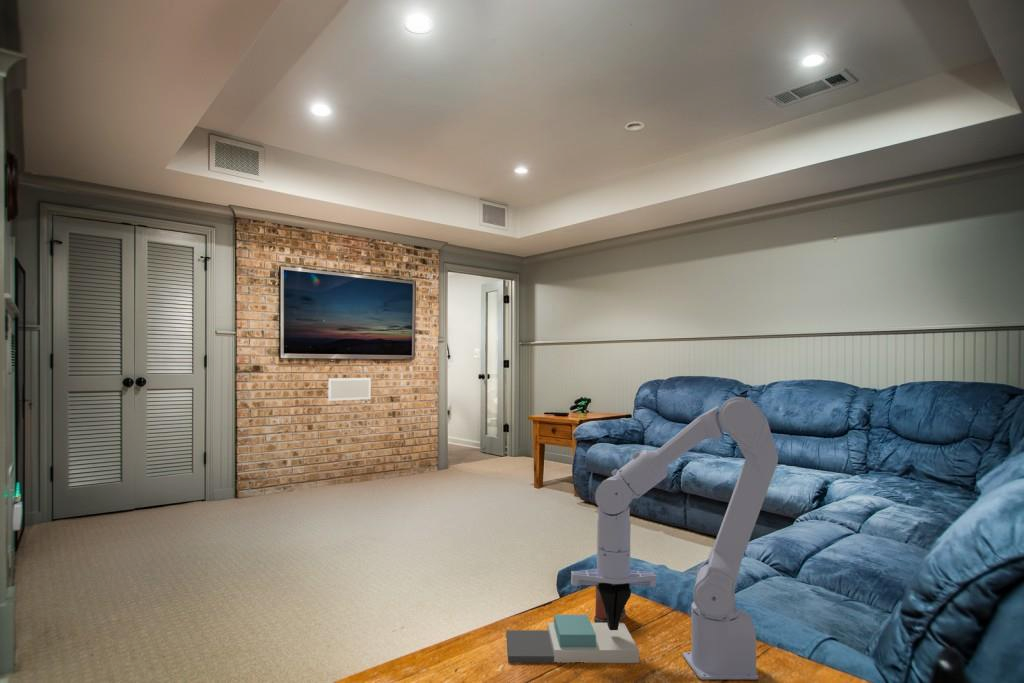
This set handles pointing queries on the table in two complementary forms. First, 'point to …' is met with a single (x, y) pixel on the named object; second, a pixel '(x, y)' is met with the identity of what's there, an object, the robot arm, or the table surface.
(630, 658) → the plinth
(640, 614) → the table surface
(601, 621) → the lighter
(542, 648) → the mat
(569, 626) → the tile
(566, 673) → the table surface
